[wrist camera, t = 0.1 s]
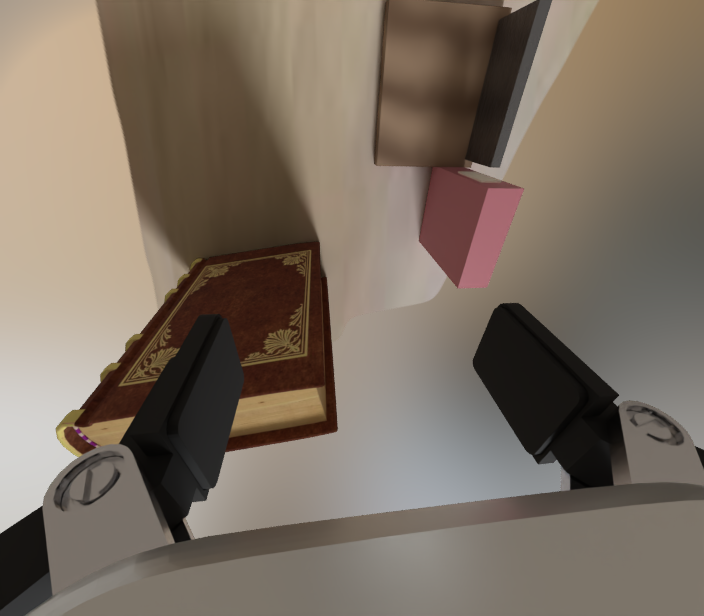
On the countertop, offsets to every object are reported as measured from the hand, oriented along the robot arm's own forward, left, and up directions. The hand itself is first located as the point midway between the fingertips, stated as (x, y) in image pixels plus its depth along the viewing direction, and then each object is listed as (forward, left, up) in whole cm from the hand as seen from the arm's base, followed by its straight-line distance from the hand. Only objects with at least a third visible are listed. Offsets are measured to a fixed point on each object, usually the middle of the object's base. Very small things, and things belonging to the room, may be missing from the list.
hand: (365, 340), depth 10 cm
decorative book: (+16, -12, -37) cm, 42 cm away
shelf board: (-9, +14, -37) cm, 40 cm away
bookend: (-9, +20, -35) cm, 41 cm away
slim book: (+5, +18, -37) cm, 41 cm away
